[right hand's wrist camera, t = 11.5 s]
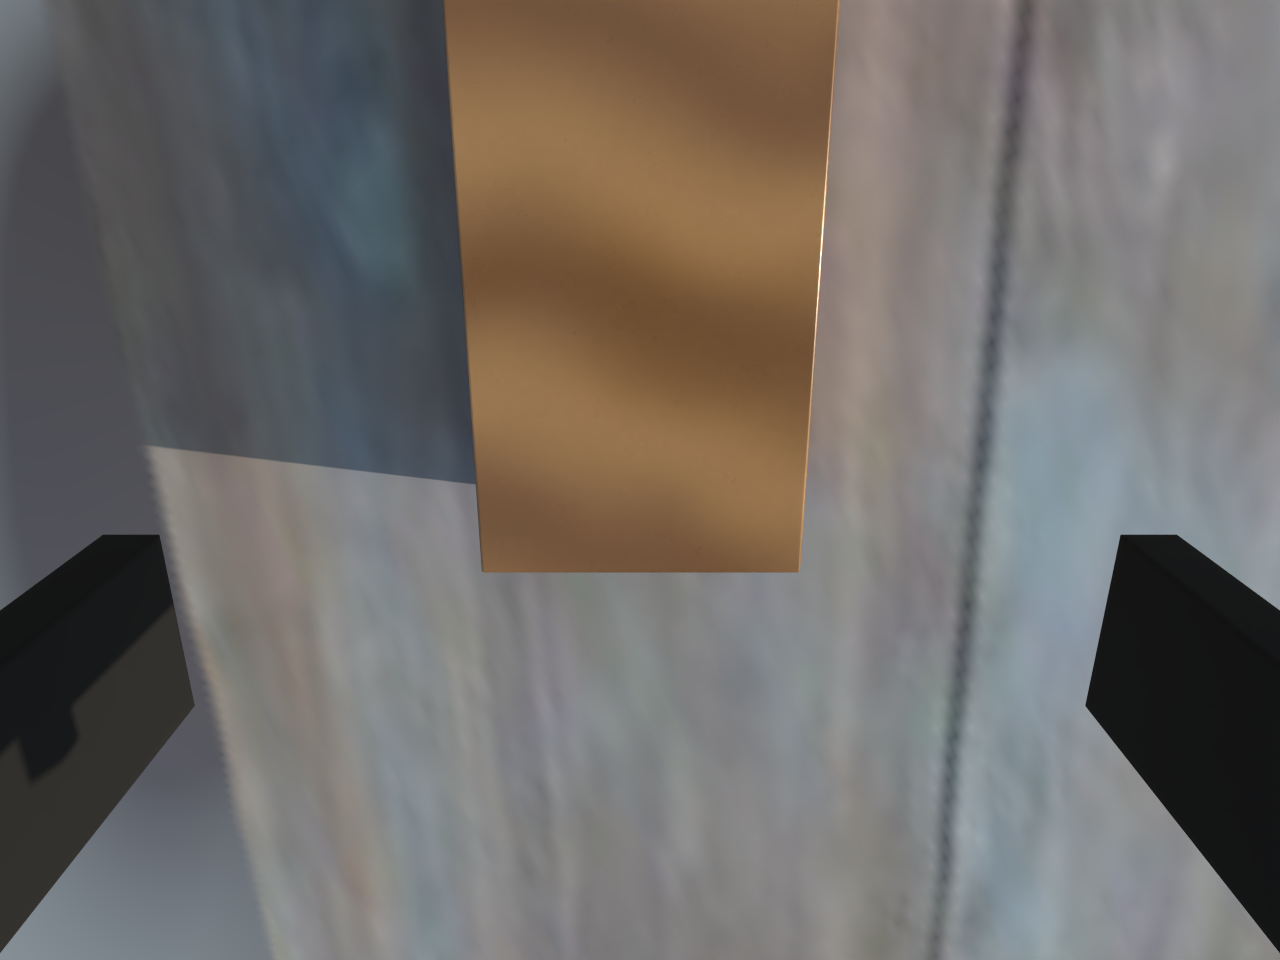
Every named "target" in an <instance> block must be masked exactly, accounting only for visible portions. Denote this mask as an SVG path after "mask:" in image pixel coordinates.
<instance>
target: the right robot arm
mask: <svg viewBox="0 0 1280 960" xmlns="http://www.w3.org/2000/svg"><path fill="white" fill-rule="evenodd" d="M194 706H195V705H194V701H193V696H192V691H191V686H190V681H189V676H188V671H187V667H186V662H185V657H184V652H183V647H182V642H181V638H180V633H179V628H178V623H177V618H176V613H175V609H174V604H173V599H172V594H171V589H170V584H169V579H168V575H167V570H166V565H165V560H164V555H163V550H162V546H161V541H160V536H159V535H102V536H101V537H100V538H98V539H97V540H95V541H94V542H93V543H91V544H90V545H89V546H87V547H86V548H85V549H83V550H82V551H80V552H79V553H78V554H76V555H75V556H74V557H72V558H71V559H70V560H68V561H67V562H66V563H64V564H63V565H62V566H60V567H59V568H57V569H56V570H55V571H53V572H52V573H51V574H49V575H48V576H47V577H45V578H44V579H42V580H41V581H40V582H38V583H37V584H36V585H34V586H33V587H32V588H30V589H29V590H28V591H26V592H25V593H23V594H22V595H21V596H19V597H18V598H17V599H15V600H14V601H13V602H11V603H10V604H8V605H7V606H6V607H4V608H3V609H2V610H0V952H1V951H2V950H3V949H4V947H5V946H6V945H7V944H8V942H9V941H10V940H11V939H12V937H13V936H14V935H15V933H16V932H17V931H18V930H19V928H20V927H21V926H22V925H23V923H24V922H25V921H26V919H27V918H28V917H29V916H30V914H31V913H32V912H33V911H34V909H35V908H36V907H37V905H38V904H39V903H40V902H41V900H42V899H43V898H44V896H45V895H46V894H47V893H48V891H49V890H50V889H51V888H52V886H53V885H54V884H55V883H56V881H57V880H58V879H59V877H60V876H61V875H62V874H63V872H64V871H65V870H66V869H67V867H68V866H69V865H70V863H71V862H72V861H73V860H74V858H75V857H76V856H77V855H78V853H79V852H80V851H81V850H82V848H83V847H84V846H85V844H86V843H87V842H88V841H89V839H90V838H91V837H92V836H93V834H94V833H95V832H96V830H97V829H98V828H99V827H100V825H101V824H102V823H103V822H104V820H105V819H106V818H107V816H108V815H109V814H110V813H111V811H112V810H113V809H114V808H115V806H116V805H117V804H118V803H119V801H120V800H121V799H122V797H123V796H124V795H125V794H126V792H127V791H128V790H129V789H130V787H131V786H132V785H133V783H134V782H135V781H136V780H137V778H138V777H139V776H140V775H141V773H142V772H143V771H144V769H145V768H146V767H147V766H148V764H149V763H150V762H151V761H152V759H153V758H154V757H155V756H156V754H157V753H158V752H159V750H160V749H161V748H162V747H163V745H164V744H165V743H166V742H167V740H168V739H169V738H170V736H171V735H172V734H173V733H174V731H175V730H176V729H177V728H178V726H179V725H180V724H181V722H182V721H183V720H184V719H185V717H186V716H187V715H188V714H189V712H190V711H191V710H192V708H193V707H194ZM1085 706H1086V707H1087V708H1088V710H1089V711H1090V712H1091V714H1092V715H1093V716H1094V717H1095V719H1096V720H1097V721H1098V722H1099V724H1100V725H1101V726H1102V728H1103V729H1104V730H1105V731H1106V733H1107V734H1108V735H1109V736H1110V738H1111V739H1112V740H1113V742H1114V743H1115V744H1116V745H1117V747H1118V748H1119V749H1120V750H1121V752H1122V753H1123V754H1124V756H1125V757H1126V758H1127V759H1128V761H1129V762H1130V763H1131V764H1132V766H1133V767H1134V768H1135V769H1136V771H1137V772H1138V773H1139V775H1140V776H1141V777H1142V778H1143V780H1144V781H1145V782H1146V783H1147V785H1148V786H1149V787H1150V789H1151V790H1152V791H1153V792H1154V794H1155V795H1156V796H1157V797H1158V799H1159V800H1160V801H1161V803H1162V804H1163V805H1164V806H1165V808H1166V809H1167V810H1168V811H1169V813H1170V814H1171V815H1172V817H1173V818H1174V819H1175V820H1176V822H1177V823H1178V824H1179V825H1180V827H1181V828H1182V829H1183V830H1184V832H1185V833H1186V834H1187V836H1188V837H1189V838H1190V839H1191V841H1192V842H1193V843H1194V844H1195V846H1196V847H1197V848H1198V850H1199V851H1200V852H1201V853H1202V855H1203V856H1204V857H1205V858H1206V860H1207V861H1208V862H1209V864H1210V865H1211V866H1212V867H1213V869H1214V870H1215V871H1216V872H1217V874H1218V875H1219V876H1220V878H1221V879H1222V880H1223V881H1224V883H1225V884H1226V885H1227V886H1228V888H1229V889H1230V890H1231V891H1232V893H1233V894H1234V895H1235V897H1236V898H1237V899H1238V900H1239V902H1240V903H1241V904H1242V905H1243V907H1244V908H1245V909H1246V911H1247V912H1248V913H1249V914H1250V916H1251V917H1252V918H1253V919H1254V921H1255V922H1256V923H1257V925H1258V926H1259V927H1260V928H1261V930H1262V931H1263V932H1264V933H1265V935H1266V936H1267V937H1268V939H1269V940H1270V941H1271V942H1272V944H1273V945H1274V946H1275V947H1276V949H1277V950H1278V951H1279V952H1280V610H1278V609H1277V608H1276V607H1274V606H1273V605H1272V604H1270V603H1269V602H1267V601H1266V600H1265V599H1263V598H1262V597H1261V596H1259V595H1258V594H1257V593H1255V592H1254V591H1253V590H1251V589H1250V588H1248V587H1247V586H1246V585H1244V584H1243V583H1242V582H1240V581H1239V580H1238V579H1236V578H1235V577H1233V576H1232V575H1231V574H1229V573H1228V572H1227V571H1225V570H1224V569H1223V568H1221V567H1220V566H1219V565H1217V564H1216V563H1214V562H1213V561H1212V560H1210V559H1209V558H1208V557H1206V556H1205V555H1204V554H1202V553H1201V552H1200V551H1198V550H1197V549H1195V548H1194V547H1193V546H1191V545H1190V544H1189V543H1187V542H1186V541H1185V540H1183V539H1182V538H1180V537H1179V536H1178V535H1121V536H1120V541H1119V546H1118V550H1117V555H1116V560H1115V565H1114V570H1113V575H1112V579H1111V584H1110V589H1109V594H1108V599H1107V604H1106V609H1105V613H1104V618H1103V623H1102V628H1101V633H1100V638H1099V642H1098V647H1097V652H1096V657H1095V662H1094V667H1093V671H1092V676H1091V681H1090V686H1089V691H1088V696H1087V700H1086V705H1085Z"/></svg>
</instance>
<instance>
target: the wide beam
mask: <svg viewBox="0 0 1280 960" xmlns="http://www.w3.org/2000/svg"><path fill="white" fill-rule="evenodd" d="M442 2H443V16H444V31H445V45H446V60H447V74H448V89H449V103H450V118H451V132H452V147H453V161H454V176H455V190H456V204H457V219H458V233H459V248H460V262H461V277H462V291H463V306H464V320H465V335H466V349H467V364H468V378H469V393H470V407H471V422H472V436H473V451H474V465H475V480H476V494H477V508H478V523H479V537H480V552H481V566H482V571H483V572H799V571H800V562H801V547H802V533H803V519H804V505H805V490H806V476H807V462H808V447H809V433H810V419H811V405H812V390H813V376H814V362H815V347H816V333H817V319H818V305H819V290H820V276H821V262H822V248H823V233H824V219H825V205H826V190H827V176H828V162H829V148H830V133H831V119H832V105H833V90H834V76H835V62H836V48H837V33H838V19H839V5H840V0H442Z"/></svg>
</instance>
